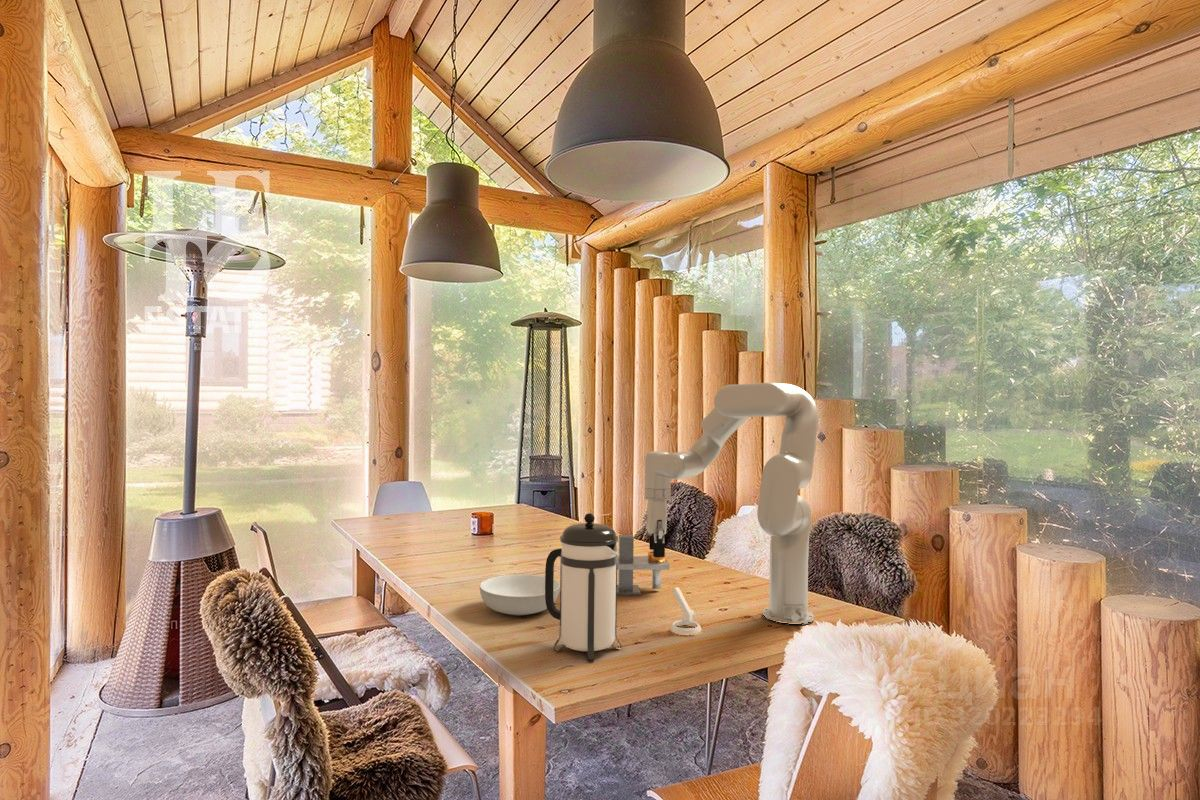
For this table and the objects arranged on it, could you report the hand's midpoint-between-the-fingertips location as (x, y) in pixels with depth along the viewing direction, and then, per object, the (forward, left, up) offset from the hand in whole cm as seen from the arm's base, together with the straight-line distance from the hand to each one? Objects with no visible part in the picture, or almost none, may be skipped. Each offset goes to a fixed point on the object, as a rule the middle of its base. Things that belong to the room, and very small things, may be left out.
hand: (656, 553), depth 196 cm
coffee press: (-46, +22, -11) cm, 52 cm away
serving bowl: (-18, +38, -11) cm, 44 cm away
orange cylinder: (0, 0, -10) cm, 10 cm away
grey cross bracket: (0, +5, -11) cm, 12 cm away
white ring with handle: (-34, -3, -11) cm, 36 cm away
